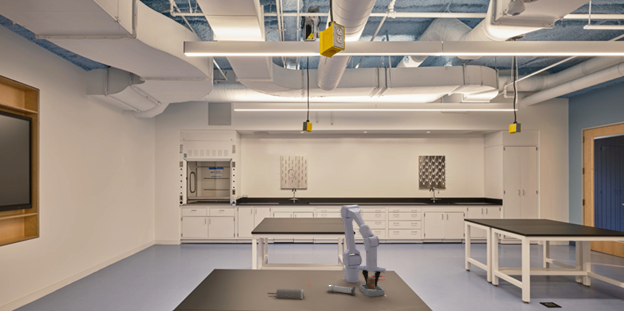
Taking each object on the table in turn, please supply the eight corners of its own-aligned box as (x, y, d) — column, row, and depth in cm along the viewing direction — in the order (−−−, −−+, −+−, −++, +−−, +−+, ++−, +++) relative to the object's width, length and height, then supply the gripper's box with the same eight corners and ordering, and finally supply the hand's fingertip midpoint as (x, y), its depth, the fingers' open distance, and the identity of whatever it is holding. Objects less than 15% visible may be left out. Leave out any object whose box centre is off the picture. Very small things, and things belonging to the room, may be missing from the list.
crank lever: (325, 292, 180) (325, 286, 180) (328, 289, 184) (328, 283, 184) (353, 295, 175) (353, 289, 175) (355, 292, 179) (355, 286, 179)
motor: (310, 301, 170) (310, 291, 171) (266, 299, 173) (266, 289, 174) (315, 291, 193) (315, 282, 194) (276, 290, 195) (276, 280, 196)
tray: (359, 289, 184) (359, 284, 184) (374, 287, 186) (374, 282, 187) (368, 297, 173) (368, 292, 174) (384, 295, 176) (384, 290, 176)
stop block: (367, 288, 179) (367, 279, 179) (368, 286, 182) (368, 276, 182) (374, 289, 177) (374, 279, 177) (376, 287, 181) (376, 277, 181)
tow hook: (384, 276, 208) (370, 277, 205) (384, 255, 208) (371, 256, 205) (391, 281, 200) (377, 282, 197) (392, 259, 200) (378, 259, 197)
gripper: (356, 260, 179) (356, 286, 179) (384, 262, 174) (384, 289, 174) (359, 256, 186) (359, 281, 185) (386, 258, 181) (386, 284, 181)
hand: (371, 285), depth 180 cm, fingers closed on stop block, 4 cm apart
